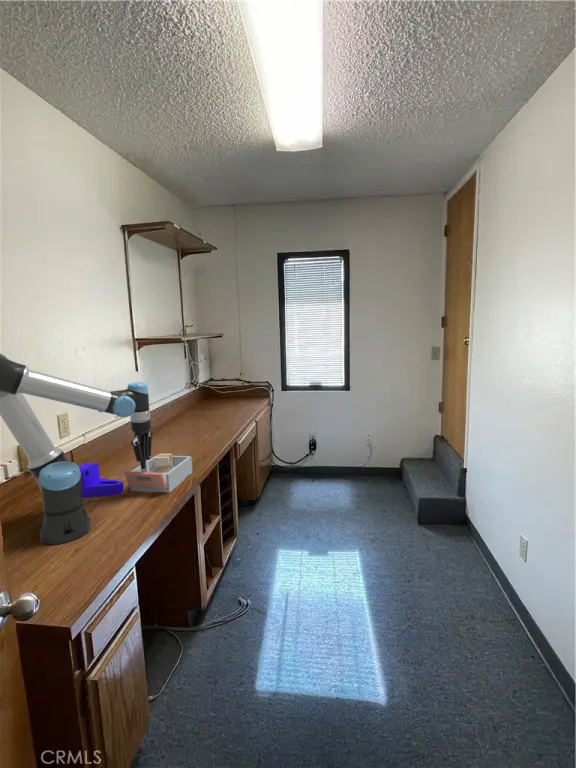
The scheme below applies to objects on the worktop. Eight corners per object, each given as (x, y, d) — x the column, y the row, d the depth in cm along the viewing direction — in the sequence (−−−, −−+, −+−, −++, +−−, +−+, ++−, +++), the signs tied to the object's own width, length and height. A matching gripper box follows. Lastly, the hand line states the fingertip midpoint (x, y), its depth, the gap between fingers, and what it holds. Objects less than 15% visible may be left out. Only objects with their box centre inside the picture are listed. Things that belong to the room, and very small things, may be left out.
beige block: (168, 472, 177) (167, 457, 176) (156, 472, 177) (154, 458, 176) (172, 467, 183) (171, 453, 182) (160, 467, 183) (159, 453, 182)
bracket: (75, 497, 159) (72, 470, 158) (90, 486, 170) (88, 461, 168) (116, 498, 158) (114, 470, 156) (129, 487, 168) (127, 461, 167)
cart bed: (168, 494, 160) (167, 475, 159) (128, 491, 163) (126, 473, 162) (192, 472, 184) (191, 456, 183) (157, 470, 187) (155, 455, 186)
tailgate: (160, 475, 156) (162, 472, 157) (123, 474, 158) (125, 471, 160) (165, 489, 160) (166, 486, 161) (129, 488, 162) (131, 485, 164)
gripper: (140, 424, 149) (145, 482, 153) (157, 416, 162) (161, 469, 166) (123, 424, 151) (128, 481, 155) (140, 416, 163) (145, 469, 167)
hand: (145, 475), depth 160 cm, fingers closed
